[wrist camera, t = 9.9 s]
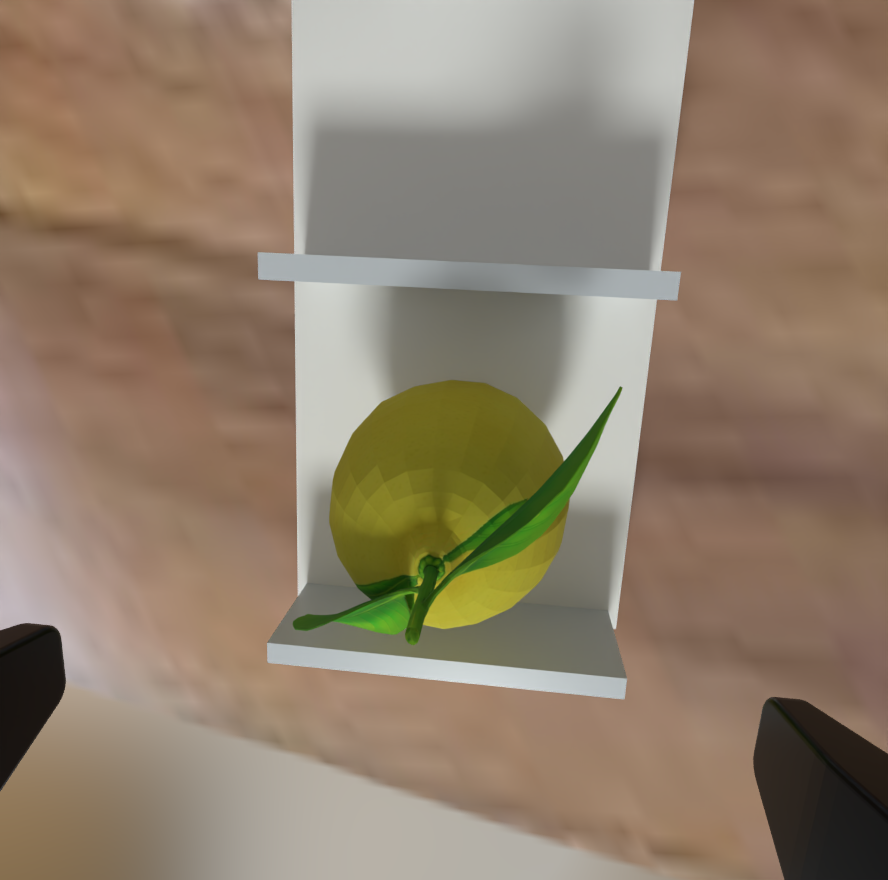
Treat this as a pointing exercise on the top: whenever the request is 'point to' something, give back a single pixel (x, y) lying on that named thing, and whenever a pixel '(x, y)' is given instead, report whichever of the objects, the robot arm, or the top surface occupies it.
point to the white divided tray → (480, 283)
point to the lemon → (449, 507)
